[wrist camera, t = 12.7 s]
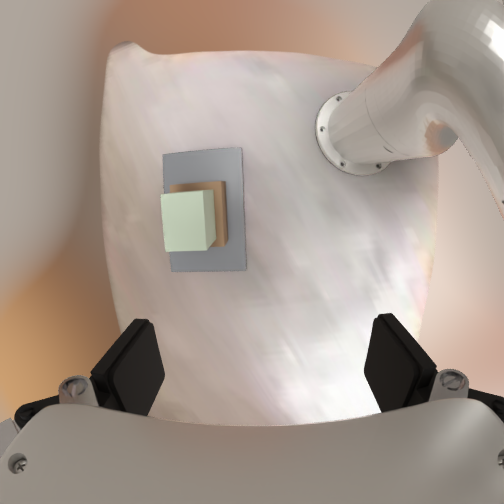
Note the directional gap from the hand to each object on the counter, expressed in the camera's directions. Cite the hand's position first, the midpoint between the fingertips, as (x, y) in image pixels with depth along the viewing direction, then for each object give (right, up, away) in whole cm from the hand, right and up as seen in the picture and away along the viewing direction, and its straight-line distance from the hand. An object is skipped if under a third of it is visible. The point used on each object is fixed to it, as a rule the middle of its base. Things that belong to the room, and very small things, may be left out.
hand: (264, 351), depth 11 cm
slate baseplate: (-7, +10, +27) cm, 30 cm away
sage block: (-7, +8, +22) cm, 25 cm away
